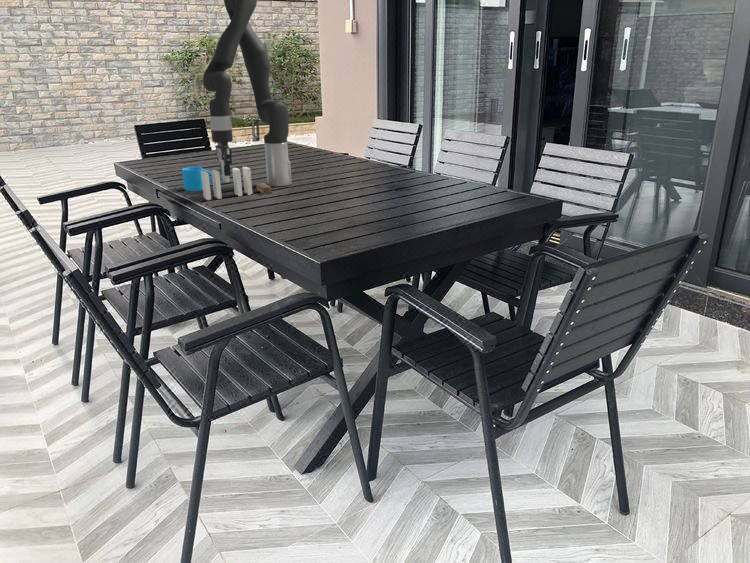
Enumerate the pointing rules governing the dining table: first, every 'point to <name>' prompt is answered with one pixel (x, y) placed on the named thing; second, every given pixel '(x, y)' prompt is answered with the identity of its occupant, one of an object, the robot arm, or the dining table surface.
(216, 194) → the domino
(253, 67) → the robot arm
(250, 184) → the domino end
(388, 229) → the dining table surface
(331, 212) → the dining table surface
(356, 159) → the dining table surface
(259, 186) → the end stop
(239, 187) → the domino
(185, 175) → the mug
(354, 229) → the dining table surface
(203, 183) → the domino
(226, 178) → the domino
